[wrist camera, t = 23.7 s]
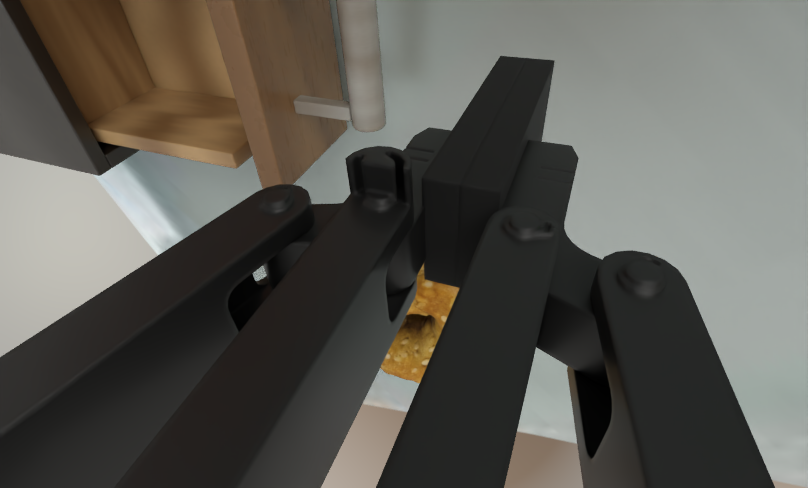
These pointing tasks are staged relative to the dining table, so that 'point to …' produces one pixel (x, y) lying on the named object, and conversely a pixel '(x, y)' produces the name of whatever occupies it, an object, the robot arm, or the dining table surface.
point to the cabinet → (43, 104)
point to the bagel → (420, 329)
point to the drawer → (218, 76)
